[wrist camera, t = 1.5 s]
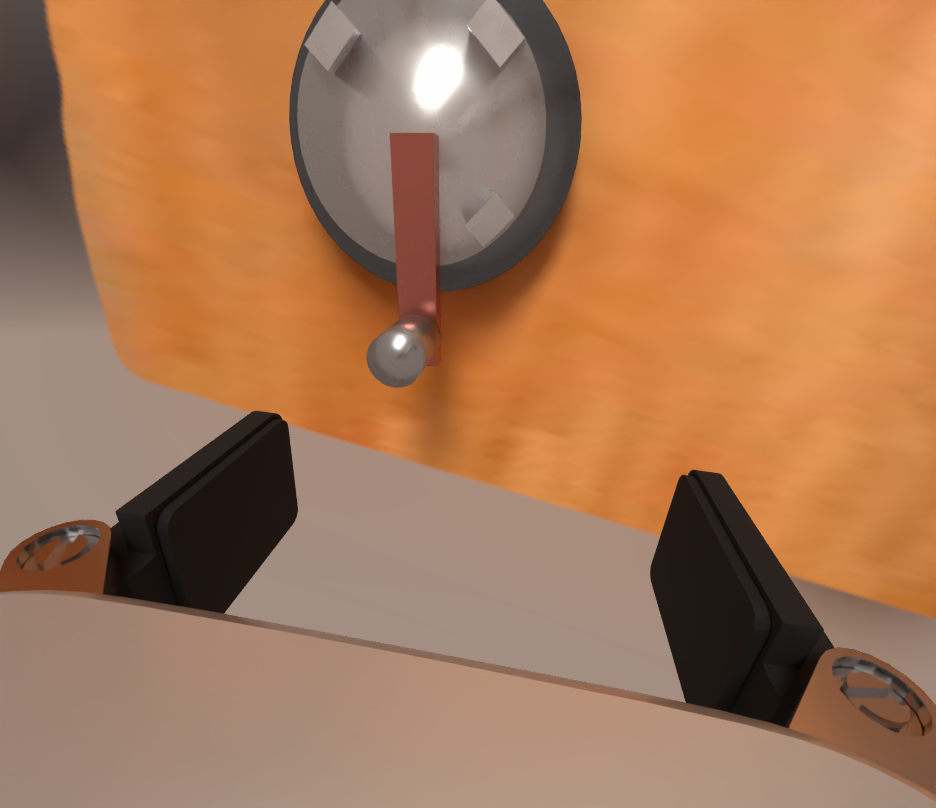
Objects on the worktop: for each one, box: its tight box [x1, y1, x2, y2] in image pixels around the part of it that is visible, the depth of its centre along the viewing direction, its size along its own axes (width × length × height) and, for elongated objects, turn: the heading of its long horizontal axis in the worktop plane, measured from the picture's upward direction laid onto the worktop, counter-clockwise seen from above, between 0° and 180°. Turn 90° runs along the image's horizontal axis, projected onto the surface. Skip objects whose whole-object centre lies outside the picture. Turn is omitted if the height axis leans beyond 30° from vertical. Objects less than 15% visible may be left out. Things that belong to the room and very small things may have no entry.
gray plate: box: [289, 0, 582, 291], centre depth 28 cm, size 18×18×3 cm
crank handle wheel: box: [297, 0, 546, 387], centre depth 24 cm, size 14×20×9 cm
